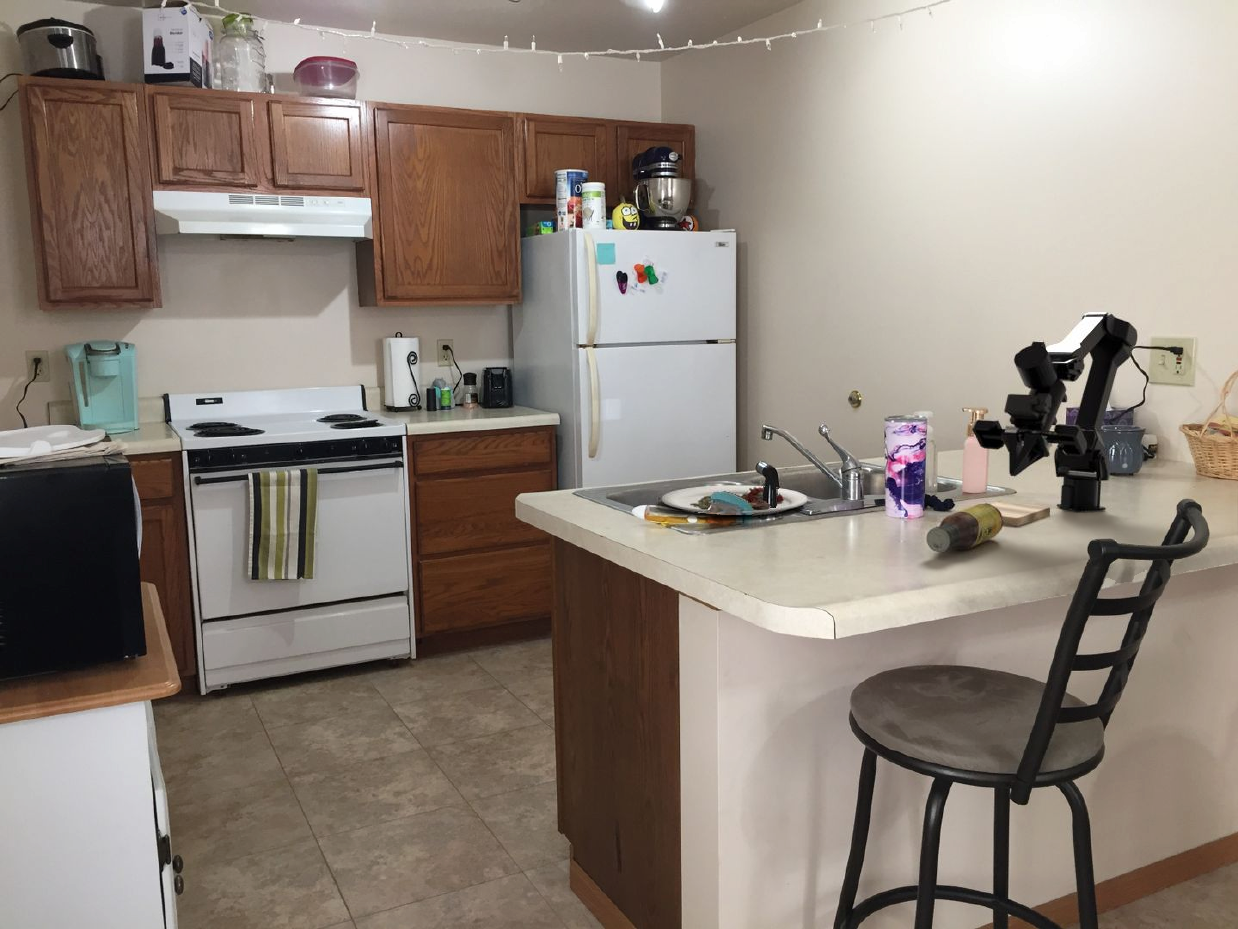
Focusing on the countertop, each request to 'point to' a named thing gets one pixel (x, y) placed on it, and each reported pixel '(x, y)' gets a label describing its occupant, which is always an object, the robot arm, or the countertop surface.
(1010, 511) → the oak cutting board
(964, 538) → the sauce bottle
